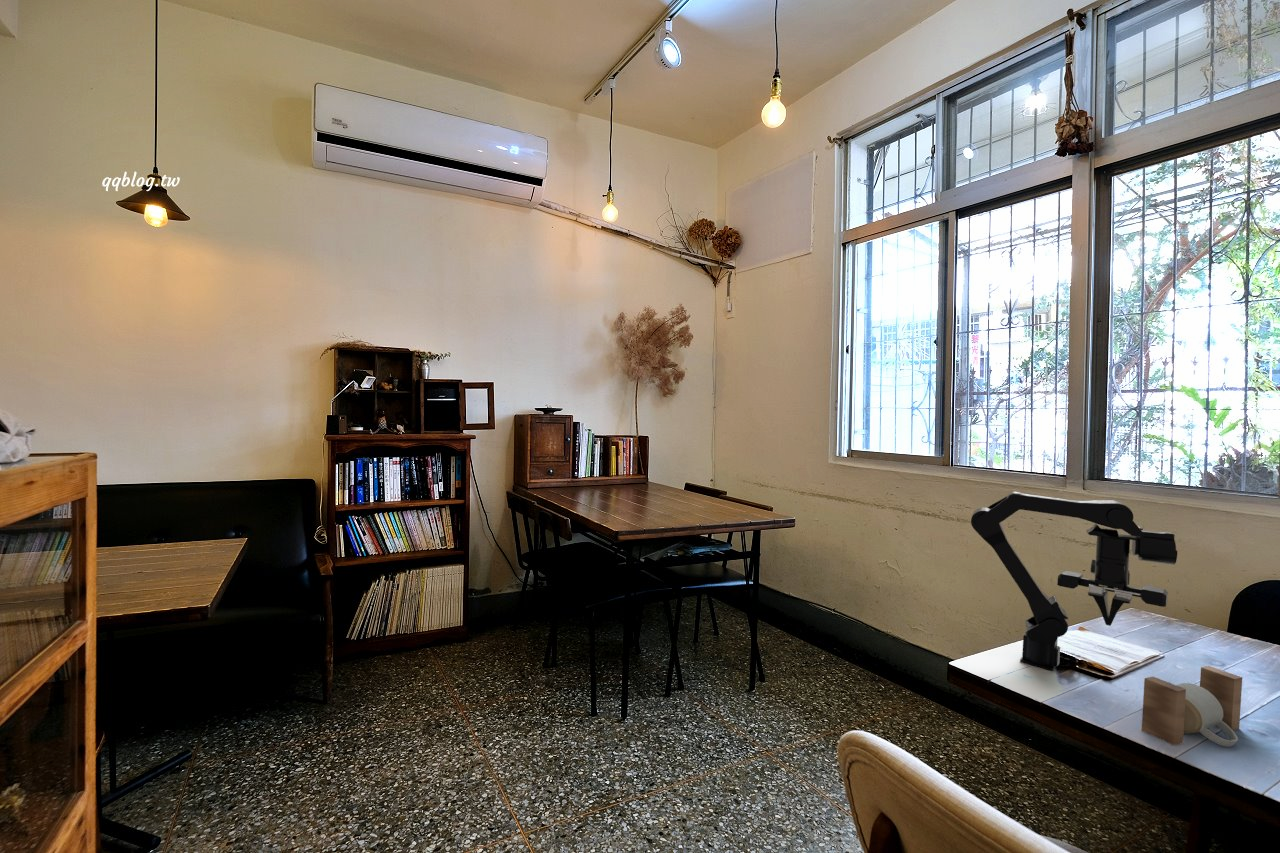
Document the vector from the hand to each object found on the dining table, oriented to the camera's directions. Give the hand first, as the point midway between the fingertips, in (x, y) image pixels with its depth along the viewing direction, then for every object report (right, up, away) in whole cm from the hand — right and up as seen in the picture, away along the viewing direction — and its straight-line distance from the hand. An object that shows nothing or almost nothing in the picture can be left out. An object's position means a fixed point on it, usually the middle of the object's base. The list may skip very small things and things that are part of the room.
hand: (1108, 625), depth 127 cm
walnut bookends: (-2, -13, -21) cm, 24 cm away
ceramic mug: (-1, -13, -21) cm, 25 cm away
